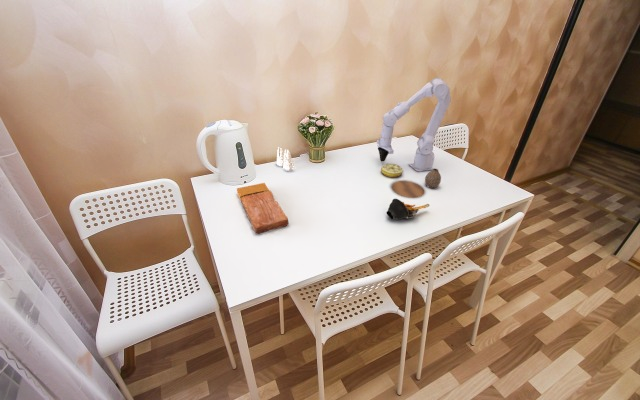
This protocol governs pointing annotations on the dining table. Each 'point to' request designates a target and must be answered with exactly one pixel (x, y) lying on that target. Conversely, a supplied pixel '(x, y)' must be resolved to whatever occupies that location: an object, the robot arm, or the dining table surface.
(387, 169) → the decorated donut
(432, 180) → the vase
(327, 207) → the dining table surface
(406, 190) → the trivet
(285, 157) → the shaker set
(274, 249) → the dining table surface
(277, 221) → the brown wooden board
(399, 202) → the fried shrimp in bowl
